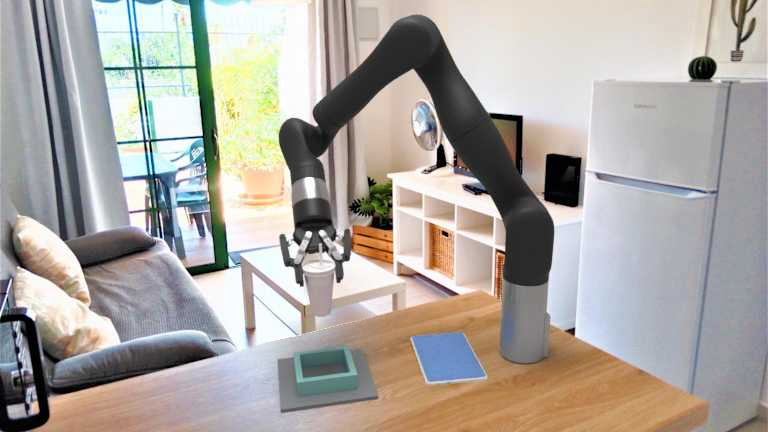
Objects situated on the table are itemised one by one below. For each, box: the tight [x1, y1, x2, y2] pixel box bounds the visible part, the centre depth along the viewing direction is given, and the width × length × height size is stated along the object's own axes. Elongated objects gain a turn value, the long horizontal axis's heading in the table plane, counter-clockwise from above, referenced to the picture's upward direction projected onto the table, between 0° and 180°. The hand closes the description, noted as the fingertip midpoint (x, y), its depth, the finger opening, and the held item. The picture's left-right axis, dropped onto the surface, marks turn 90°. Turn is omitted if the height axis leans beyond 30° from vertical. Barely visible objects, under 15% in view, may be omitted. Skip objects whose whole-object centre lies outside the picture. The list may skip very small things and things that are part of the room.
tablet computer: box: [410, 331, 489, 386], centre depth 121 cm, size 19×13×1 cm, turn 7°
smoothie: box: [302, 244, 336, 318], centre depth 108 cm, size 6×6×14 cm
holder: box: [277, 345, 379, 413], centre depth 114 cm, size 18×18×4 cm
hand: (320, 283), depth 107 cm, fingers closed on smoothie, 6 cm apart
